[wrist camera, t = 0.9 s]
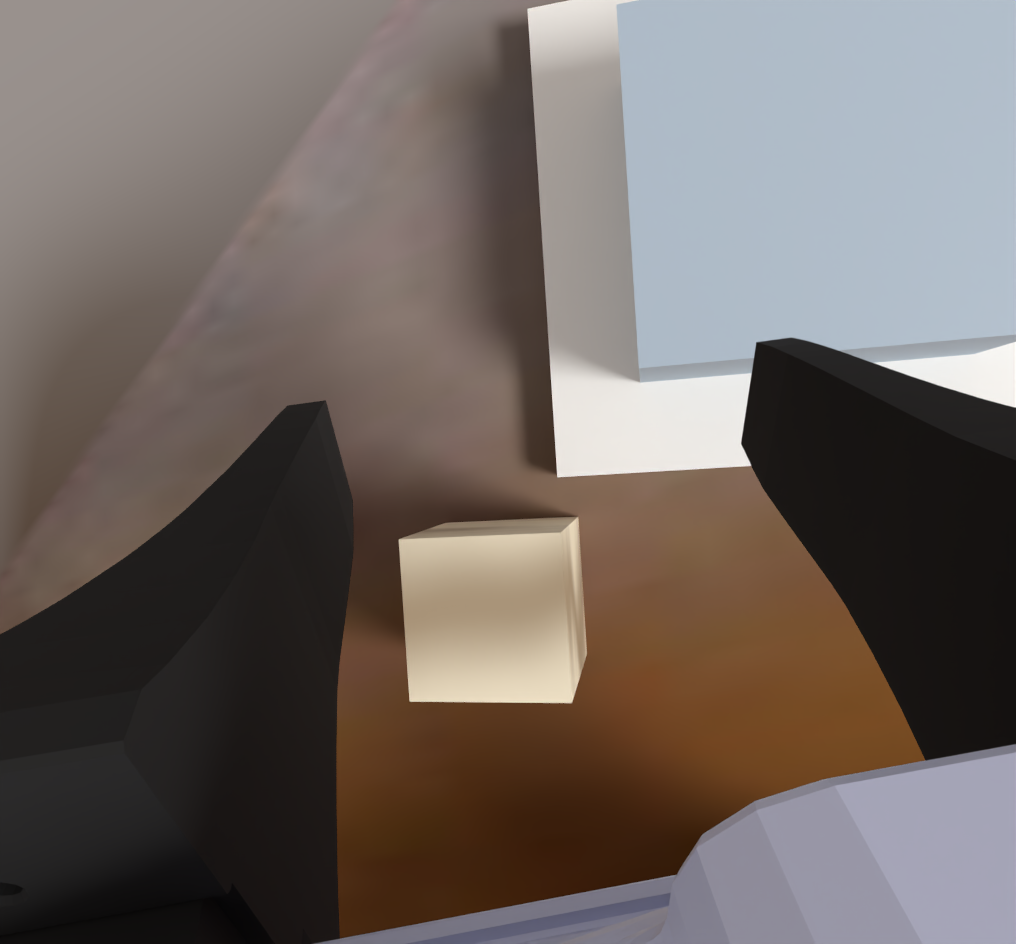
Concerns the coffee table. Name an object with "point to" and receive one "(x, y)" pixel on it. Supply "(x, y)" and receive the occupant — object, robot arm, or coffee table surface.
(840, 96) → the plinth base
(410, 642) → the birch cube
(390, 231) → the coffee table surface
